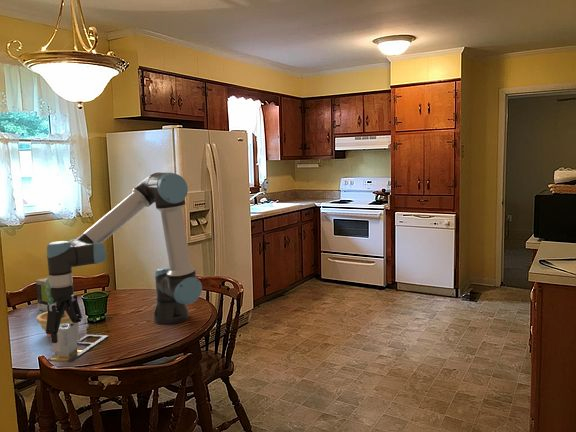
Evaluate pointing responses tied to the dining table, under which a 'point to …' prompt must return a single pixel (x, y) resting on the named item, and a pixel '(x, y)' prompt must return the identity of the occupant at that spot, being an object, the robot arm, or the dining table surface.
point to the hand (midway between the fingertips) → (66, 345)
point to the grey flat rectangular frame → (80, 352)
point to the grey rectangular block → (67, 341)
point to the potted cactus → (43, 317)
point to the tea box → (42, 294)
